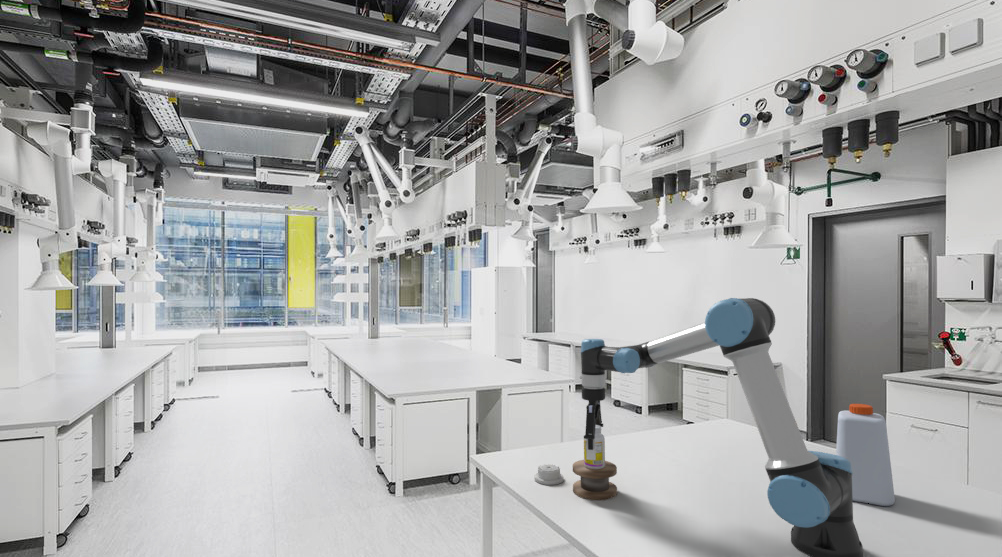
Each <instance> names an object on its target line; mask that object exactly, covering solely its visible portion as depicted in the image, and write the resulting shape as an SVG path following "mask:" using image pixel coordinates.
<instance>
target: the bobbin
mask: <svg viewBox="0 0 1002 557" xmlns="http://www.w3.org/2000/svg"><path fill="white" fill-rule="evenodd" d="M617 470H618V466H617V465H616V464H614V463H613V462H611V461H607V460H605V467H604V468H602V469H589V468H587V467H585V465H584V459H581V460H578V461H575V462H573V463H572V472H573V474H575V475H577V476H579V477H580V479H579V480H577V481H575V482H573V484H572V491H573V493H574V495H575V496H577V497H579V498H582V499H586V500H590V501H593V500H594V501H602V500H603V501H606V500H609V499H613V498H615V497H616V496H617V495H618V487H617V485H616V484H615V483H613V482H610V478H612V477H615V476H616V475H617V473H618V472H617Z"/></svg>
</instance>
